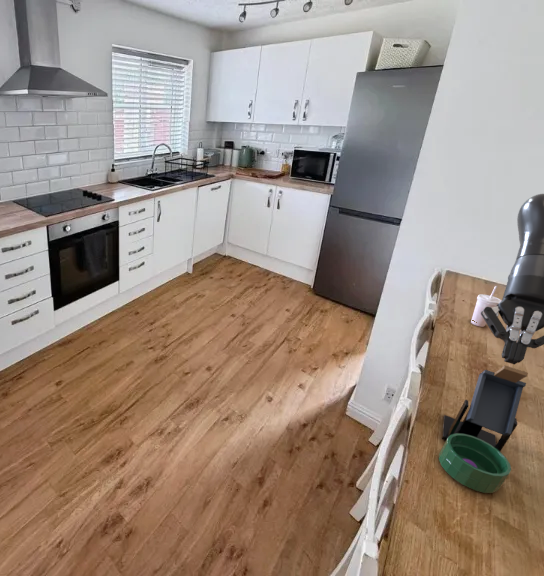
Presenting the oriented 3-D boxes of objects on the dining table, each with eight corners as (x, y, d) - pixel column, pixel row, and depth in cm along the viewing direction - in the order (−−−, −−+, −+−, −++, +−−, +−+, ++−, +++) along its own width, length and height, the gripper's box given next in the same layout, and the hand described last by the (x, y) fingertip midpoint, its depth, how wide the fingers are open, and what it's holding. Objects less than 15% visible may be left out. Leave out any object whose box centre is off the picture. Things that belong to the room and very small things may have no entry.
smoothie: (490, 324, 124) (510, 287, 118) (488, 331, 120) (508, 292, 114) (467, 317, 128) (485, 280, 122) (464, 323, 124) (482, 285, 118)
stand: (443, 417, 83) (461, 380, 79) (493, 437, 78) (516, 399, 74) (441, 441, 77) (461, 403, 72) (496, 465, 72) (521, 426, 67)
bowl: (459, 446, 76) (469, 429, 74) (510, 487, 68) (523, 468, 66) (426, 457, 73) (435, 439, 71) (475, 500, 65) (487, 481, 63)
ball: (467, 483, 68) (465, 467, 71) (483, 479, 66) (481, 463, 68) (451, 472, 69) (450, 457, 71) (467, 468, 66) (466, 452, 69)
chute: (479, 374, 74) (494, 362, 67) (518, 387, 71) (538, 376, 64) (465, 420, 72) (480, 412, 65) (505, 436, 68) (525, 429, 61)
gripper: (497, 265, 73) (473, 343, 70) (591, 285, 66) (570, 372, 63) (485, 281, 79) (462, 353, 76) (569, 300, 72) (548, 381, 69)
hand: (511, 362), depth 69 cm, fingers closed
